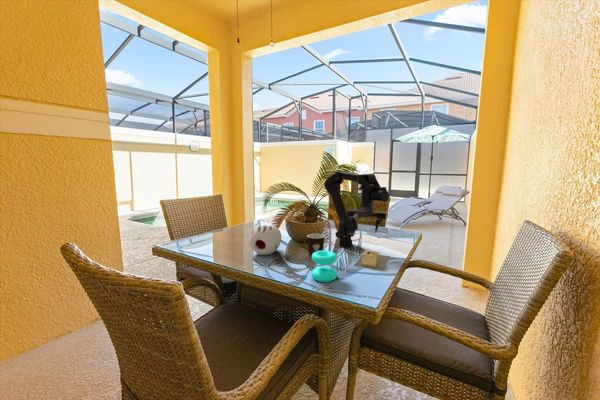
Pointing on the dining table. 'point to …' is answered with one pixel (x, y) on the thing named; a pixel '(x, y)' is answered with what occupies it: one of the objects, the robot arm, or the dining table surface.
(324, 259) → the donuts
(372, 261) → the brass collar
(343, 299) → the dining table surface
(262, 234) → the decorative object
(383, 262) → the base plate
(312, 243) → the coffee mug
